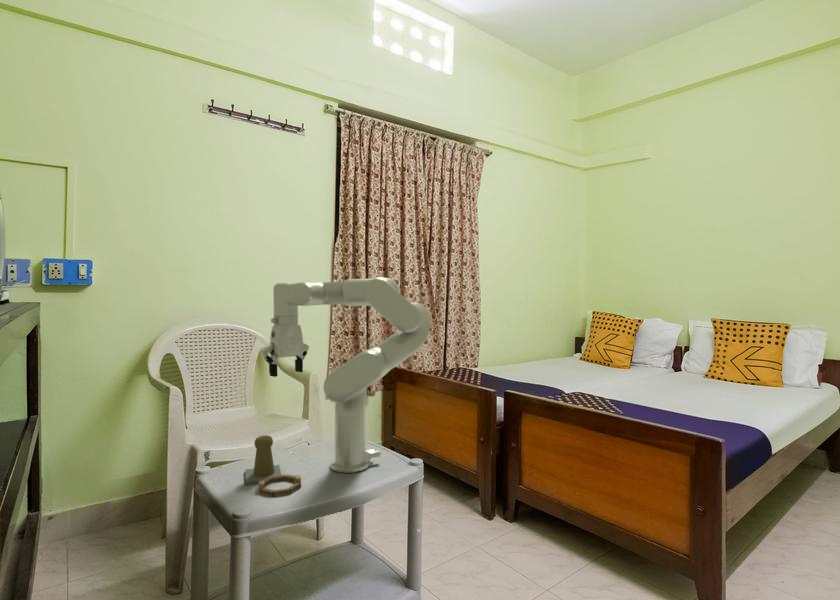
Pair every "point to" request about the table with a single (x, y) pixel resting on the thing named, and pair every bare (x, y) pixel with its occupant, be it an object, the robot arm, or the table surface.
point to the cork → (263, 457)
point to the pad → (255, 480)
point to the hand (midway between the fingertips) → (286, 373)
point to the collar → (282, 491)
